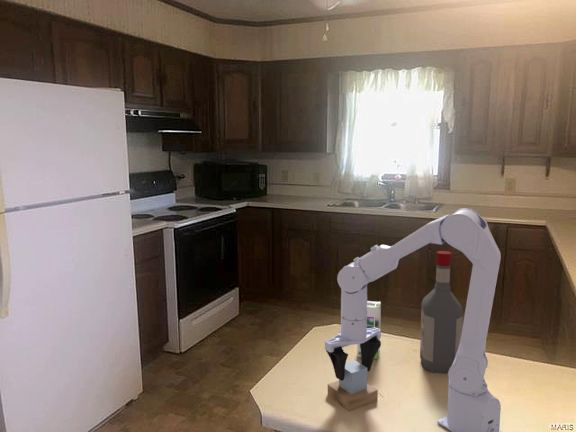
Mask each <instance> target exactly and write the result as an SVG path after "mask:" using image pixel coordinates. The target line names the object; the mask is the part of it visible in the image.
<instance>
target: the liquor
mask: <svg viewBox="0 0 576 432" xmlns="http://www.w3.org/2000/svg"><path fill="white" fill-rule="evenodd" d="M435 254H436V256H435V265H436V274H435V285H434V288H433V289H432V290H431V291H429V293H428V294H427V295H425V296H424V297H423V298H422V301H421V309H420V310H421V312H420V314H421V316H420V338H419V339H420V342H419V343H420V344H419V347H420V348H419V359H420V361H421V363H422V366H423V368H424V370H427V371H429V372H431V373H440V374H448V372H449V369H450V367H451V366H452V364H453V362H454V359H455V355H456V352H457V351H458V348H459V344H460V339H461V333H462V327H463V321H464V310H463V306H462V304H461V303H460V301H459V300H458V299H457V297H456V296H455V295H454V294H453V292H452V291H451V284H450V283H451V281H450V279H451V266H452V252H451V251H446V250H438V251H436V253H435Z"/></svg>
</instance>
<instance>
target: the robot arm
mask: <svg viewBox="0 0 576 432" xmlns="http://www.w3.org/2000/svg"><path fill="white" fill-rule="evenodd" d="M445 242H446V243H447V244H448V245H449V246H451V247H453V248H454V249H456V250H458V251H460V252H461V253H463V255H464V256H466V258H467V259H468V260H469V261H470V262H471V263H472V267H471V272H470V273H471V275H470V281H469V287H468V292H467V298H466V304H465V310H464V314H463V321H462V333H461V339H460V344H459V348H458V351H457V352H456V355H455V359H454V362H453V364H452V366H451V367H450V369H449V372H448V373H447V377H448V387H447V388H448V389H447V390H448V391H447V392H448V393H447V394H448V395H447V408H446V409H447V413H446V414H447V415H445V416H443V417H441V418H439V419H437V423H438V424H439V425H440V426H442V427H443V428H445V429H447V430H449V431H450V432H502V430H500V425H501V411H502V410H501V402H500V400H499V399H498V398H497V397H496V396H494V395H493V394H492V393H491V392H490V390H489V389H488V384H487V382H486V380H485V378H484V377H485V373H486V369H487V368H488V364H489V363H488V362H489V361H488V357H487V354H486V345H487V337H488V331H489V326H490V320H491V314H492V308H493V304H494V298H495V292H496V286H497V281H498V274H499V270H500V264H501V258H502V256H501V254H502V253H501V251H500V248H499V247H498V245H497V243H496V241H495V238H494V237H493V235H492V232H491V230H490V228H489V225H488V222H487V221H486V219H484V218H483V217H482V216H481V215H480V214H479V213H478V212H477V211H475V210H474V209H471V208H466V207H465V208H459V209H457V210H455V211H453V213H452V214H446V215H443V216H441V217H438V218H436V219H434V220H432V221H430V222H428V223H426V224H425V225H423V226H421V227H420V228H417V230H416V231H414V232H412V233H410V234H409V235H408V236H405V237H404V238H403V239H401V240H400V241H398V242H396V243H395V244H393V245H391V246H390V245H387V244H381V245H378V244H375V245H373V246H371V247H370V251H369V252H367V253H366V254H364V255H362V256H360V257H359V256H357V257H355V258H354V259H353V260H352V261H353V262H350V263H349V264H348V265H344V266H343V268H342V269H340V270H339V272H338V273H337V275H336V276H337V278H336V280H337V281H336V282H337V283H338V286H339V288H340V289H341V290H340V291H341V294H340V329H339V333H338V334H337V335H334V336H333V337H331V338H329V339H327V340H324V350H325V352H326V354H327V355H328V357H329V359H330V362H331V364H332V367H333V370H334V375H335V378H336V379H338V381H339V380H341V381H342V380H344V377H345V364H346V363H347V360H348V357H349V354H348V353H347V352H345V351H344V349H343V348H345V347H349V346H351V345H352V346H353V345H358V344H360V348H361V357H360V360H361V363H360V364H362V365H363V366H365V367H367V373H368V372H370V371H371V369H372V366H373V362H374V360H375V359H374V357H375V354H376V352H377V351H378V349H379V348H380V349H381V345H382V342H381V340H380V341H379V340H377V339H378V338H380V339H381V336H382V334H381V333H382V329H381V328H380V329H378V328H376V327H374V328H368V329H367V301H368V284H369V283H371V282H374V281H376V280H378V279H380V278H381V277H383V276H385V275H387V274H388V273H390V272H392V271H394V270H396V269H397V267H398V265H399V261H400V259H402V258H405V257H406V256H408V255H409V254H411V253H413V252H415V251H417V250H419V249H421V248H423V247H425V246H427V245H428V244H435V245H443V244H445Z"/></svg>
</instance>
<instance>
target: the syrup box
mask: <svg viewBox="0 0 576 432" xmlns="http://www.w3.org/2000/svg"><path fill="white" fill-rule="evenodd" d="M381 309H382V303H381V301H373V300H372V301H371V300H367V329H368V328H374V327H376V328H378V329H380V330H381V320H382V319H381V311H382V310H381ZM377 340H379V341H380V342H381V338H378V339H377ZM356 345H357V348H356V349H357V351H356V356H357V358H361V348H360V344H356ZM380 350H381V347H380V348H379V349H378V351H377V352H376V354H375V357H374V359H373V360H378V359H379V355H380V352H381V351H380Z"/></svg>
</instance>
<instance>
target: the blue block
mask: <svg viewBox="0 0 576 432" xmlns="http://www.w3.org/2000/svg"><path fill="white" fill-rule="evenodd" d="M338 381H339V386H340V387H341V388H343V389H344V390H346V391H347V392H349V393H350V394H354V393H357V392H360V391H362V390H365V389H367V383H368V372H367V367H365V366H363V365H362V364H361V363H360V362H359V361H357V360H355V359H354V360H350V361H348V362H347V361H346V364H345V377H344V380H342V381H341V380H339V379H338Z"/></svg>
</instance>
